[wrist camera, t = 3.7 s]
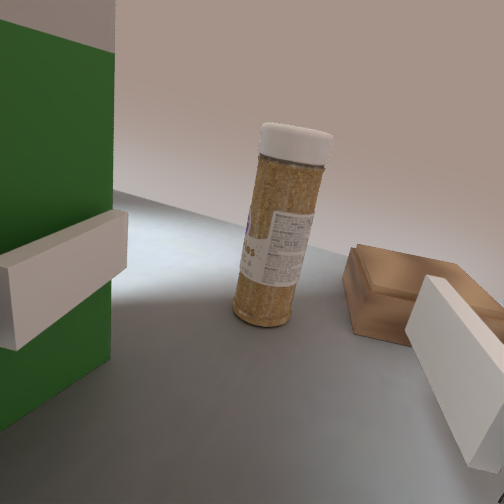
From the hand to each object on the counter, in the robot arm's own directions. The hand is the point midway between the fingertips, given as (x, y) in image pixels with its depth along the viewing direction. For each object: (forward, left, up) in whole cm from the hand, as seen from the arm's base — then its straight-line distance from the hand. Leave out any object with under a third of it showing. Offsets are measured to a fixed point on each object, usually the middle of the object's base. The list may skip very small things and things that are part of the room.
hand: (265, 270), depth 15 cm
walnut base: (+12, +14, -7) cm, 20 cm away
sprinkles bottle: (0, +9, -8) cm, 12 cm away
